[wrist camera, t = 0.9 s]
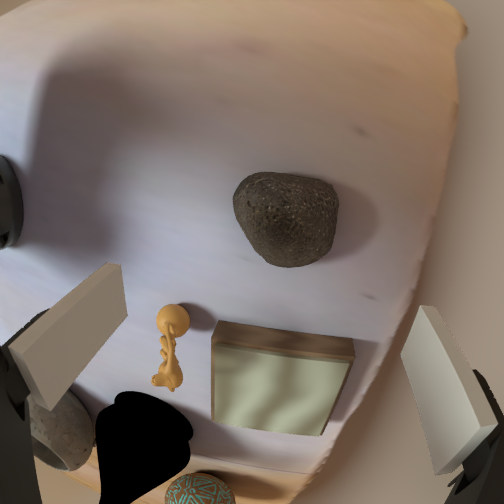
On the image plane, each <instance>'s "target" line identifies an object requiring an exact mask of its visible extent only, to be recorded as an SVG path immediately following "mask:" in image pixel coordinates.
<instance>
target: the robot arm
mask: <svg viewBox="0 0 504 504" xmlns="http://www.w3.org/2000/svg"><path fill="white" fill-rule="evenodd" d="M22 222H23V205H22V197H21V192H20V187H19V184H18V181H17V178H16V175H15V173H14V171H13V169H12V167H11V166H10V164H9V163H8V161H7V160H6V159H5V158H3V157H2V156H0V250H2V249H5V248H6V247H8V246H10V245H12V244H13V243H15V242H16V240H17V239H18V237H19V235H20V232H21V228H22ZM127 316H128V315H127V308H126V302H125V294H124V287H123V279H122V271H121V265H119V264H114V263H108V262H107V263H106V264H104V265H103V266H102V267H101V268H99V269H98V270H97V271H96V272H94V273H93V274H92V275H90V276H89V277H88V278H87V279H85V280H84V281H83V282H82V283H80V284H79V285H78V286H77V287H76V288H74V289H73V290H72V291H71V292H69V293H68V294H67V295H66V296H65V297H63V298H62V299H61V300H60V301H59V302H57V303H56V304H55V305H54V306H53V307H52V308H50V309H47V310H45V311H43V312H41V313H38V314H37V315H36V316H35V317H34V318H33V319H31V320H30V322H28V323H27V324H26V325H25V326H24V328H21V329H20V330H19V331H18V332H17V333H16V334H14V335H13V336H12V337H11V338H10V339H9V340H8V341H7V342H6V343H5V344H4V345H2V346H0V504H42V500H41V496H40V491H39V486H38V480H37V475H36V469H35V462H34V455H33V447H32V438H31V427H30V411H29V402H28V400H27V397H28V395H29V394H30V393H31V395H32V396H33V398H34V400H35V402H36V404H38V405H40V406H42V407H44V408H45V409H47V410H49V411H52V409H53V408H54V407H55V405H56V404H57V403H58V401H59V400H60V399H61V397H62V396H63V395H64V393H65V392H66V391H67V390H68V388H69V387H70V386H71V384H72V383H73V382H74V381H75V379H76V378H77V377H78V376H79V374H80V373H81V372H82V371H83V369H84V368H85V367H86V366H87V364H88V363H89V362H90V361H91V359H92V358H93V357H94V356H95V354H96V353H97V352H98V351H99V350H100V348H101V347H102V346H103V345H104V343H105V342H106V341H107V340H108V339H109V337H110V336H111V335H112V334H113V333H114V331H115V330H116V329H117V328H118V327H119V325H120V324H121V323H122V322H123V321H124V320H125V318H126V317H127ZM400 356H401V358H402V361H403V364H404V367H405V370H406V373H407V376H408V379H409V382H410V385H411V388H412V391H413V395H414V398H415V401H416V405H417V408H418V411H419V415H420V418H421V422H422V425H423V429H424V432H425V436H426V440H427V444H428V448H429V452H430V456H431V461H432V464H433V469H434V474H435V475H441V474H446V473H451V472H453V471H454V470H455V469H456V468H457V467H458V466H460V464H462V465H463V468H464V470H463V471H462V472H461V473H460V474H459V475H458V476H457V477H456V478H454V479H453V480H452V481H451V482H450V483H449V484H448V487H450V486H451V485H453V484H454V483H455V485H454V487H453V488H452V490H451V492H450V494H449V496H448V498H447V500H446V501H445V503H444V504H504V415H503V413H502V411H501V409H500V407H499V405H498V403H497V401H496V399H495V398H494V395H493V393H492V391H491V390H490V387H489V385H488V383H487V382H486V380H485V378H484V377H483V376H482V375H481V374H480V373H479V372H478V371H477V370H472V369H471V367H470V365H469V363H468V361H467V360H466V358H465V356H464V354H463V352H462V351H461V349H460V347H459V345H458V344H457V342H456V340H455V339H454V337H453V335H452V334H451V332H450V330H449V329H448V327H447V325H446V324H445V322H444V320H443V319H442V317H441V316H440V314H439V312H438V311H437V309H436V308H435V307H434V306H423V305H420V307H419V310H418V313H417V315H416V318H415V320H414V323H413V326H412V328H411V331H410V333H409V335H408V338H407V340H406V343H405V345H404V347H403V350H402V352H401V354H400Z"/></svg>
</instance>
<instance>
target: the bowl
mask: <svg viewBox="0 0 504 504" xmlns="http://www.w3.org/2000/svg"><path fill="white" fill-rule="evenodd" d="M27 400H28V402H29V411H30V427H31V438H32V447H33V455H34V456H36V457H37V458H39V459H40V460H41V461H42V462H44V463H46V464H47V465H49V466H51V467H53V468H55V469H58V470H60V471H74V470H77V469H78V468H80V467H81V466H82V465H84V464H85V463H86V461H87V460H88V458H89V457H90V455H91V452H92V449H93V447H96V438H94V431H93V426H92V423H91V419H90V417H89V415H88V413H87V411H86V409H85V408H84V406H83V405H82V403H81V402H80V401H79V399H78V398H77V397H76V396H75V395H74V394H73V393H72V392H71V391H70V390H69V389H68V390H67V391H66V392H65V393H64V395H63V396H62V397H61V399H60V400H59V401H58V403H57V404H56V405H55V407H54V408H53V409H52V411H49V410H47V409H45V408H44V407H42V406H40V405H38V404H36V402H35V400H34V398H33V396H32V395H31V393H30V394H29V395H28V397H27Z"/></svg>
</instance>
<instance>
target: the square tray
mask: <svg viewBox="0 0 504 504" xmlns="http://www.w3.org/2000/svg"><path fill="white" fill-rule="evenodd" d="M355 357H356V356H355V351H354V346H353V340H352V338H344V337H335V336H325V335H317V334H308V333H300V332H293V331H285V330H278V329H271V328H264V327H257V326H251V325H245V324H238V323H232V322H226V321H221V320H219V321H218V323H217V325H216V328H215V330H214V332H213V335H212V337H211V420H213V421H215V422H217V423H222V424H227V425H233V426H238V427H244V428H250V429H256V430H263V431H270V432H278V433H287V434H296V435H308V436H319V435H322V434H323V432H324V430H325V428H326V426H327V424H328V422H329V419H330V417H331V415H332V413H333V411H334V408H335V406H336V404H337V402H338V399H339V397H340V395H341V392H342V390H343V387H344V385H345V383H346V380H347V378H348V375H349V373H350V370H351V367H352V365H353V362H354V360H355Z"/></svg>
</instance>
